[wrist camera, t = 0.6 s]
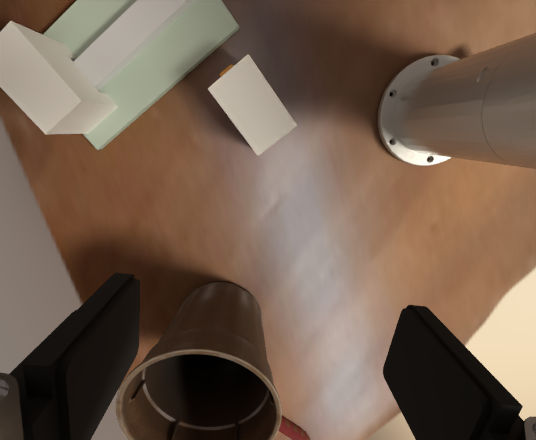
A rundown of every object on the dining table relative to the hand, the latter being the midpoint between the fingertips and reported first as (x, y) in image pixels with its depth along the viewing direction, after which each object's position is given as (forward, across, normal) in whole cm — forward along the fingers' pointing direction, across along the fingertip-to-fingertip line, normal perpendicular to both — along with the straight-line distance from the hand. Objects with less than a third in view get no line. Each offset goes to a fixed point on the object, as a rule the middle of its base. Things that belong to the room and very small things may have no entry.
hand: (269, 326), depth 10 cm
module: (+29, +2, -9) cm, 30 cm away
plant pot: (+29, +3, +21) cm, 36 cm away
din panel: (+29, +17, -14) cm, 36 cm away
